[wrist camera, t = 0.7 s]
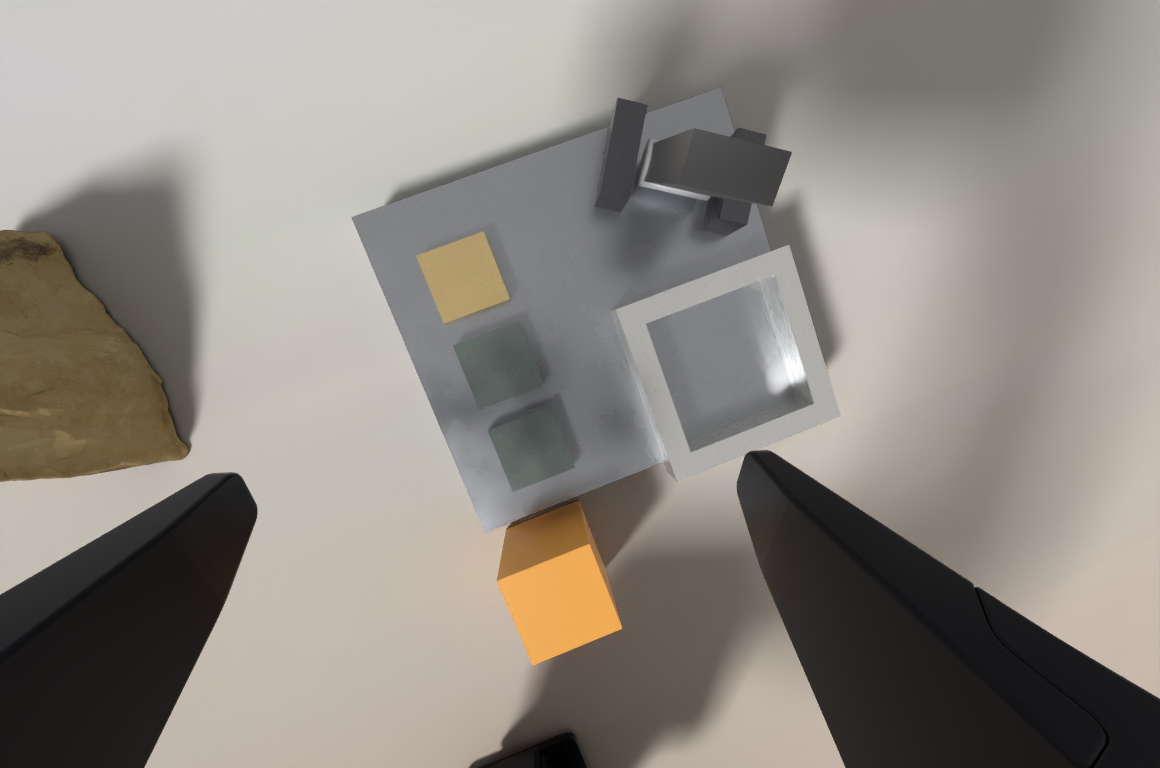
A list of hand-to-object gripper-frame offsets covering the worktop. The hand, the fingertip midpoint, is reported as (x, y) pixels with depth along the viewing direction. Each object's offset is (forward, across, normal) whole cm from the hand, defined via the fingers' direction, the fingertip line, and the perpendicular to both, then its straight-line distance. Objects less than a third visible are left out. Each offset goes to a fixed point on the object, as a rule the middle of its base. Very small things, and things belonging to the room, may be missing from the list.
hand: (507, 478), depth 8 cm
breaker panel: (+14, -3, +3) cm, 15 cm away
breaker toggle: (+14, -7, -4) cm, 16 cm away
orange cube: (+9, -1, +14) cm, 17 cm away
